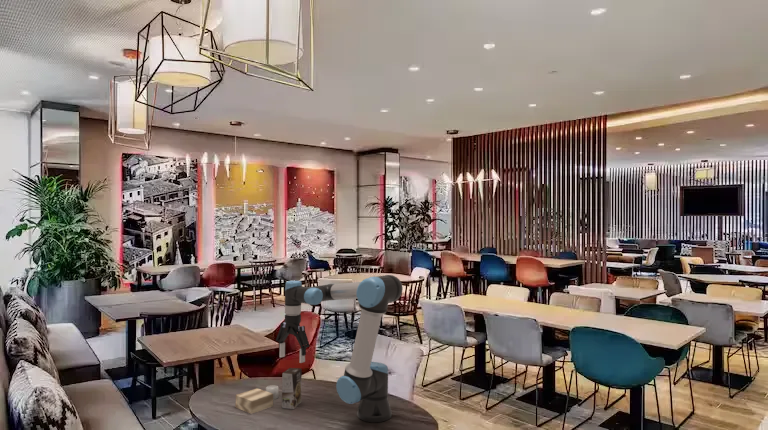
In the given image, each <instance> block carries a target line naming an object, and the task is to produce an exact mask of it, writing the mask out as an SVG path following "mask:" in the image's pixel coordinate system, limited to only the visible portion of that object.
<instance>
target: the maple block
mask: <svg viewBox="0 0 768 430" xmlns="http://www.w3.org/2000/svg"><path fill="white" fill-rule="evenodd" d="M234 406H235V408H236V409H237V410H241V411H243V412H245V413H249V414H251V415H253V414H256V413H258V412H261V411H264V410H267V409H269V408H271V407H274V400H273V394H272V393H269V392H267V391H266V390H265V389H264V390H263V389H260V388H253V389H251V390H246V391H243V392H241V393H236V394H235V405H234Z"/></svg>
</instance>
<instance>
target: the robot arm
mask: <svg viewBox="0 0 768 430" xmlns="http://www.w3.org/2000/svg"><path fill="white" fill-rule="evenodd" d="M402 294H403V284H402V281H401V280H400V279H399V278H398V277H397V276H395V275H393V274H386V275H380V276H379V275H378V276H370V277H367V278H364V279H363V280H362V281H354V282H353V281H351V282H343V283H340V282H339V283H329V284H323V285H315V286H303V284H302V281H301V280H288V281H286V282H285V288H284V322H280V328H279V330H278V333H277V336H276V338H275V342H278V350H279V355H278V356H279V358H285V357H286V342H285V341H286V339H288V337H289V335H293V336H294V337H295V339H296V340H297V342H298V345H299V347H300V348H299V363H300V364H302V363H305V362H306V355H307V348H309V347H311V346H310V343H309V339H308V336H307V333H306V326H305V325H302V326H301V325H300V323H301V322H302V304H305V305H310V306H312V305H313V306H316V305H317V306H318V305H319V304H320V303H322V302H326V301H327V302H328V301H337V300H338V301H339V300H356V299H357V302H358V303H359V304H358V307H359V309H360V310H361V311H360V317H359V321H358V325H357V329H356V335H355V339H354V340H355V341H354V344H353V349H352V354H351V358H350V363H348V364H346V366H345V368H344V373H343V375H341V376H340V377H339V378H338V379H337V380H336V385H335V387H336V392H337V394H338V396H339V398H340V399H341V401H342V402H345V404H350V405H353V404H355V403H359V405H358V408H357V414H356V415H357V418H358V419H359V420H362V421H363V422H368V423H382V422H385V421H388V420H390V419H391V418H392V415H393V414H392V411H393V410H392V408H391V405H390V402H389V395H388V393H389V368H388V366H387V364H385V363H382V362H377V361H372V360H373V356H374V353H375V347H376V343H377V340H378V339H377V338H378V334H379V329H380V326H381V322H382V321H381V320H382V316H383V315H385V314H386V313H387V310H388V307H389V304H390V303H393V302H395V301H398V300H399V299H400V298H401V296H402Z"/></svg>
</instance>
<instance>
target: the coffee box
mask: <svg viewBox="0 0 768 430" xmlns="http://www.w3.org/2000/svg"><path fill="white" fill-rule="evenodd" d="M302 370H303V368H297V367H289V368H287V369H286V370H284V372H282V377H281V378H282V379H281V382H282V383H281V408H282V409H289V410H294V409H296V408H297V407H298V406H299V405H300V404H301V403H302V379H303V378H302V373H303V371H302Z"/></svg>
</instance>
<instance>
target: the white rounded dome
mask: <svg viewBox="0 0 768 430" xmlns="http://www.w3.org/2000/svg"><path fill="white" fill-rule="evenodd" d="M265 391H267V392H269V393H272V394H273V401H274V400H276V399H279V386H278V385H275V384H271V385H270V384H269V385H267V386H266V387H265Z"/></svg>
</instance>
